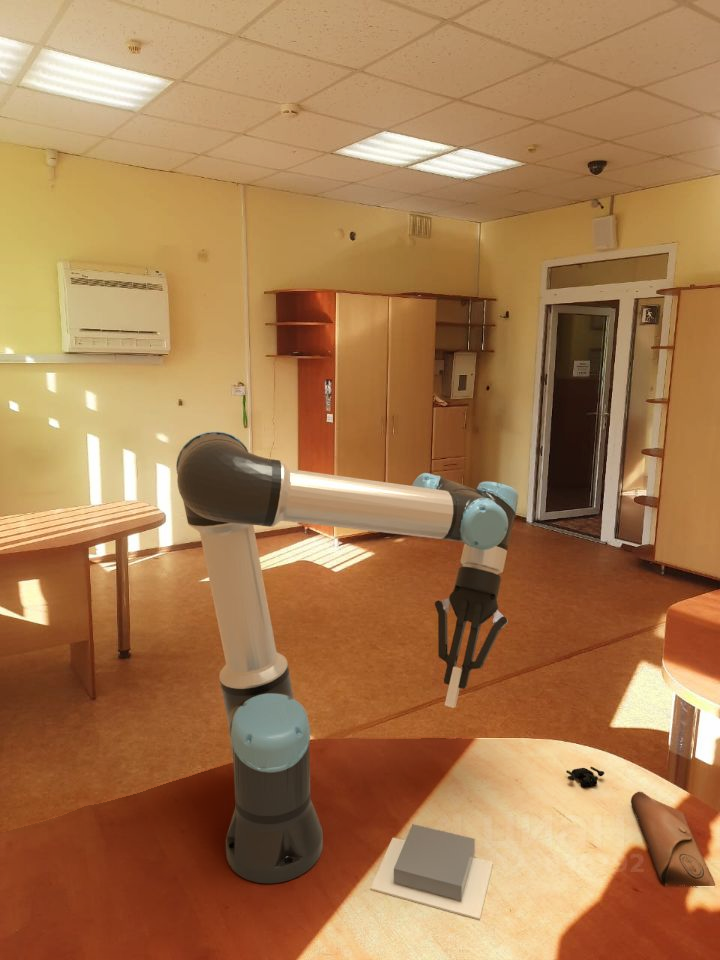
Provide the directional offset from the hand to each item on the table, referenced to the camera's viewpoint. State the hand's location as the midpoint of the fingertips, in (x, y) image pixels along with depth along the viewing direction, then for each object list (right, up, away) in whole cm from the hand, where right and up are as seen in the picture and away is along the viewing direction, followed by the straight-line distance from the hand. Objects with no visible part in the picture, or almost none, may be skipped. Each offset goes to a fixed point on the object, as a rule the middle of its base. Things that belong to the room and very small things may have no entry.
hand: (450, 706), depth 116 cm
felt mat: (-4, -21, -14) cm, 25 cm away
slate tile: (-2, -18, -8) cm, 20 cm away
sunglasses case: (+34, -20, -7) cm, 40 cm away
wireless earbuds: (+25, -17, +8) cm, 32 cm away
